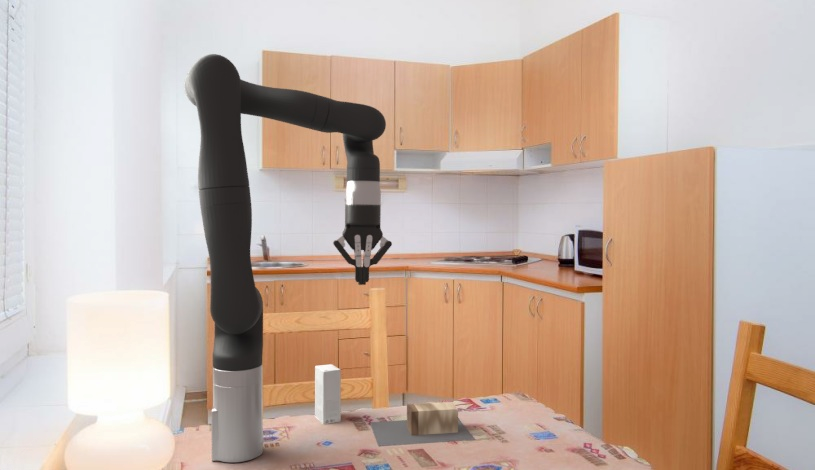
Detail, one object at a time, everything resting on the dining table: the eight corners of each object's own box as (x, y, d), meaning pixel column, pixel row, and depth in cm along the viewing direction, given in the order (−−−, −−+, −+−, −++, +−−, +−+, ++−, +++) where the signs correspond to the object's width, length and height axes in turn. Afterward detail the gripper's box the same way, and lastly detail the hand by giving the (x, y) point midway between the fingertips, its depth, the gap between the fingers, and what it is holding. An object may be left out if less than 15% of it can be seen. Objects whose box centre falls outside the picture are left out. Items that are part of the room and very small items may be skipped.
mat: (378, 448, 121) (378, 446, 121) (369, 423, 135) (369, 422, 135) (475, 441, 124) (475, 439, 124) (457, 418, 138) (457, 416, 138)
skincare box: (341, 423, 135) (341, 369, 135) (323, 426, 133) (323, 371, 133) (332, 415, 140) (331, 363, 140) (314, 417, 139) (314, 365, 138)
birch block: (411, 411, 126) (458, 409, 128) (407, 404, 131) (452, 401, 133) (411, 435, 127) (457, 432, 128) (406, 427, 131) (451, 424, 133)
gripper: (332, 202, 125) (331, 286, 125) (396, 203, 127) (395, 286, 128) (330, 202, 132) (329, 282, 133) (391, 203, 134) (390, 282, 135)
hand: (362, 284), depth 130 cm, fingers closed
